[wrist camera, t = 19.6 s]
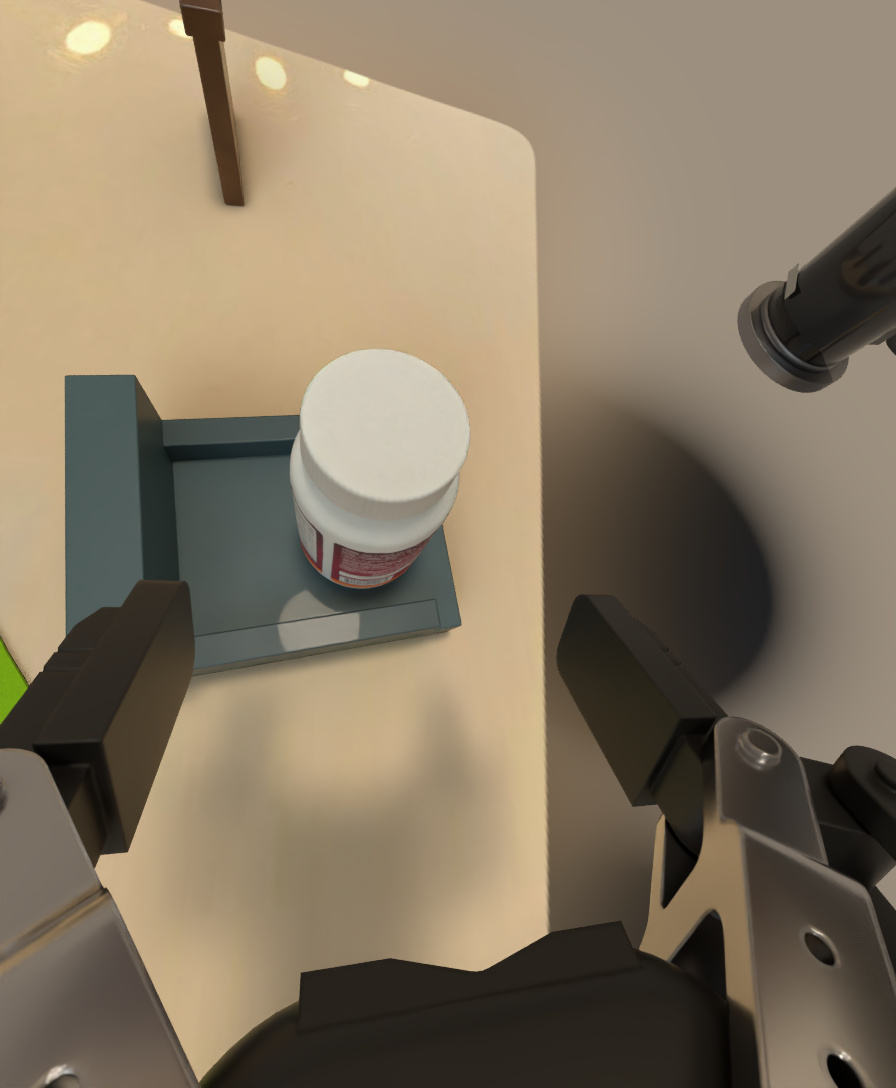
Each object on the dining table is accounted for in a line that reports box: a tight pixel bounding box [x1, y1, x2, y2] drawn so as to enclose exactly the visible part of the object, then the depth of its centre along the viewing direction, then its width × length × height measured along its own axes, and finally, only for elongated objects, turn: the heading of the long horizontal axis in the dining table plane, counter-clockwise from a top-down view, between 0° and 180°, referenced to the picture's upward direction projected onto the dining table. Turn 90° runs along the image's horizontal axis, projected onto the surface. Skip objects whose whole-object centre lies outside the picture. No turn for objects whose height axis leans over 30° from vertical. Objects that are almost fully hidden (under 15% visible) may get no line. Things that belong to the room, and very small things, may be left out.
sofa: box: [65, 375, 461, 676], centre depth 23 cm, size 15×12×8 cm
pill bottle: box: [290, 349, 470, 589], centre depth 20 cm, size 6×6×11 cm
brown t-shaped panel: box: [179, 0, 244, 206], centre depth 28 cm, size 2×8×10 cm, turn 11°
